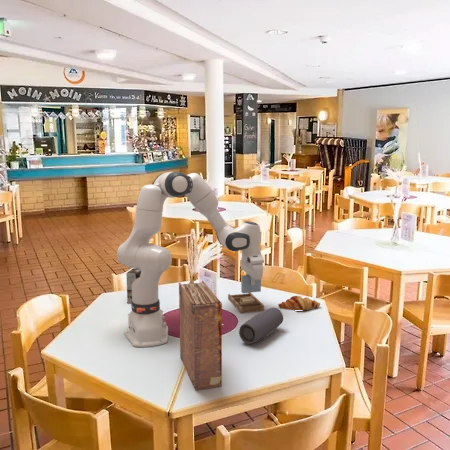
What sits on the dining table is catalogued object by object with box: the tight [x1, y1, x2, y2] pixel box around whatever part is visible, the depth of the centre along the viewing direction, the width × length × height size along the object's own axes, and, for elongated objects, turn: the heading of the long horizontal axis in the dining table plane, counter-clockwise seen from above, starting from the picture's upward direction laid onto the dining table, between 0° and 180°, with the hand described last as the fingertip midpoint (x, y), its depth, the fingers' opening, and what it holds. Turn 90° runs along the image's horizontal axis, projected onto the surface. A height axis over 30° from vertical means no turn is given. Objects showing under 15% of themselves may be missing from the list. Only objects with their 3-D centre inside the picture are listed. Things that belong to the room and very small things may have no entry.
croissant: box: [278, 295, 321, 311], centre depth 228 cm, size 21×10×8 cm, turn 100°
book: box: [178, 280, 223, 391], centre depth 166 cm, size 25×9×30 cm, turn 17°
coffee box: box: [125, 268, 141, 304], centre depth 238 cm, size 9×6×16 cm
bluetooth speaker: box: [238, 306, 284, 345], centre depth 196 cm, size 23×9×10 cm, turn 145°
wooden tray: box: [227, 292, 265, 314], centre depth 231 cm, size 20×12×4 cm, turn 17°
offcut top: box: [240, 297, 255, 304], centre depth 229 cm, size 4×6×2 cm
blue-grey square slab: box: [240, 275, 262, 294], centre depth 222 cm, size 2×9×8 cm, turn 107°
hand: (250, 283), depth 222 cm, fingers closed on blue-grey square slab, 2 cm apart
